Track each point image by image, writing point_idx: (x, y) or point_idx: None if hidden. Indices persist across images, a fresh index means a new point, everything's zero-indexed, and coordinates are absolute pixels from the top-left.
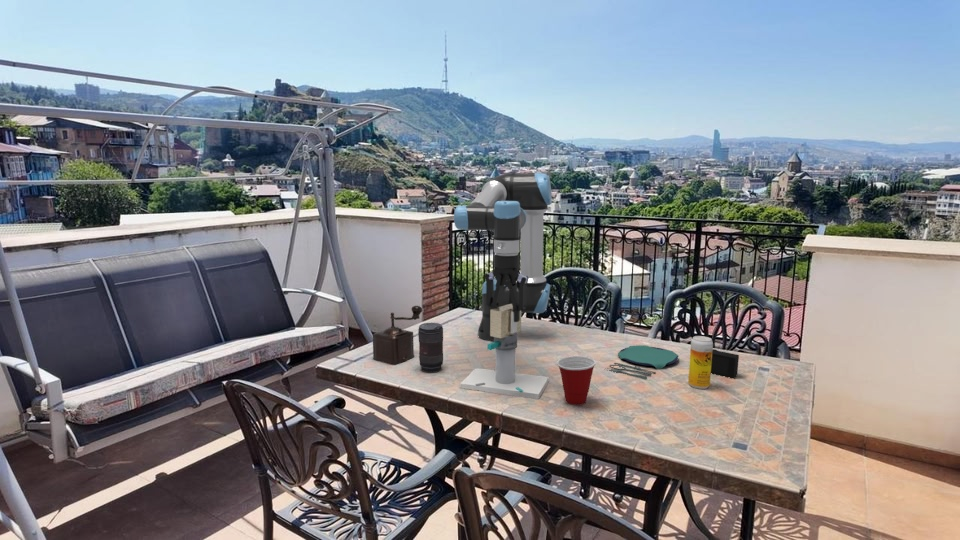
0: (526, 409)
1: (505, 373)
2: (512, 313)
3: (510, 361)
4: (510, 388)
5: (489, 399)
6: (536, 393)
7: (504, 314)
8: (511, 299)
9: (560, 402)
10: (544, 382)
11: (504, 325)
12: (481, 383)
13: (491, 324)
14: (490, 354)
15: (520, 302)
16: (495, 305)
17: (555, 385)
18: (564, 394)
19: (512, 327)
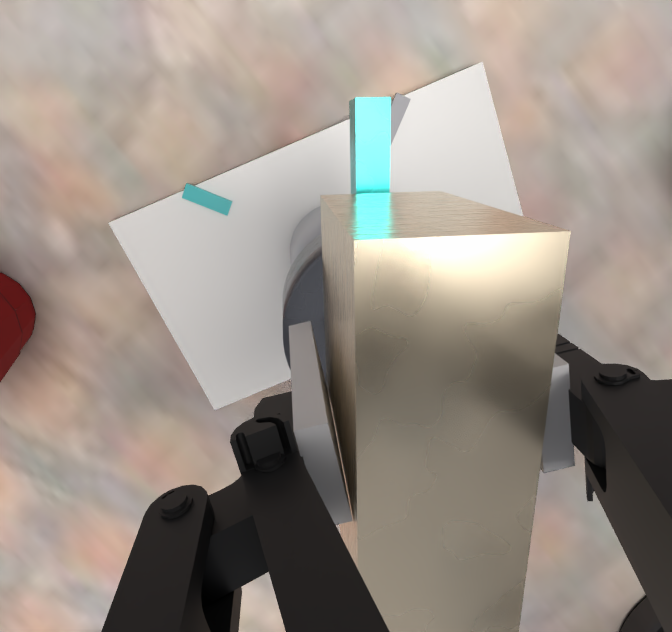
0: (70, 80)
1: (309, 222)
2: (303, 417)
3: (295, 257)
4: (251, 185)
5: (278, 53)
6: (120, 220)
7: (347, 306)
8: (349, 564)
9: (23, 255)
10: (185, 350)
11: (332, 270)
12: (392, 127)
13: (464, 204)
14: None
15: (163, 581)
16: (595, 400)
17: (170, 388)
18: (6, 286)
19: (296, 345)
